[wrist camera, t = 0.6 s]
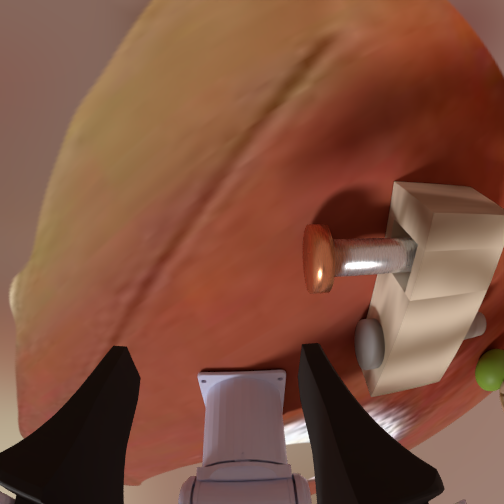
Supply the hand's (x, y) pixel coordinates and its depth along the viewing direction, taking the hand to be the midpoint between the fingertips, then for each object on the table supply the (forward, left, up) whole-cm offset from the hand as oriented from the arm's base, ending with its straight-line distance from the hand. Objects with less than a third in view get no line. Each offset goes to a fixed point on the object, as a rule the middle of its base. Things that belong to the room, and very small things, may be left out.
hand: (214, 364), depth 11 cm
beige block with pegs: (-4, -16, -10) cm, 19 cm away
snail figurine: (-18, -31, -10) cm, 38 cm away
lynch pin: (0, -11, -9) cm, 15 cm away
